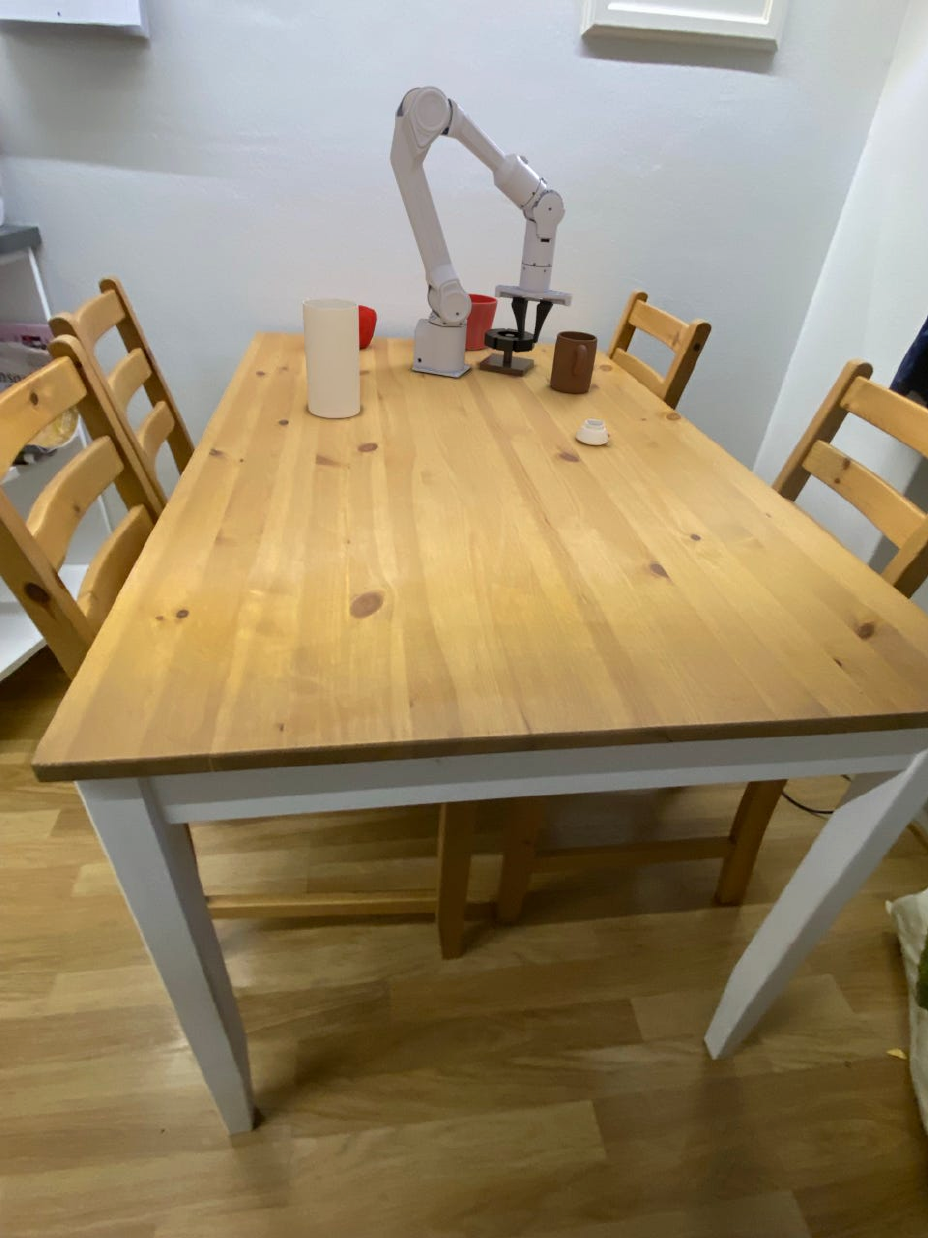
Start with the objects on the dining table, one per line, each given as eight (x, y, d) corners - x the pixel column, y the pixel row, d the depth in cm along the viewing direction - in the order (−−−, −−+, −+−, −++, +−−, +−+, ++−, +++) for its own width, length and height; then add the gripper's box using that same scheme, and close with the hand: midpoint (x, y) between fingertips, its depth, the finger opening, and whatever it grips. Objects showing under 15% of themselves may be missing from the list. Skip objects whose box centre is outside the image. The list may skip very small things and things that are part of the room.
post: (478, 369, 138) (481, 336, 134) (491, 358, 145) (494, 327, 141) (522, 376, 136) (526, 343, 132) (533, 365, 143) (537, 333, 139)
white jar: (583, 447, 107) (613, 446, 108) (586, 428, 105) (616, 427, 106) (570, 435, 111) (599, 434, 112) (573, 417, 109) (602, 416, 110)
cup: (368, 406, 115) (367, 302, 106) (345, 421, 109) (342, 311, 99) (324, 398, 117) (319, 294, 108) (298, 412, 110) (291, 303, 101)
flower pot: (447, 337, 157) (450, 290, 152) (495, 342, 156) (500, 295, 151) (440, 348, 149) (442, 299, 143) (490, 354, 148) (495, 305, 142)
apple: (326, 348, 142) (324, 307, 138) (344, 339, 149) (343, 299, 145) (366, 354, 141) (366, 313, 136) (383, 345, 148) (383, 305, 143)
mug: (596, 403, 125) (606, 348, 120) (554, 400, 125) (562, 345, 120) (586, 383, 135) (594, 332, 130) (547, 380, 135) (554, 329, 129)
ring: (480, 347, 135) (481, 335, 134) (491, 337, 142) (492, 325, 141) (528, 354, 133) (530, 342, 132) (537, 343, 141) (538, 332, 140)
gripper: (493, 262, 127) (487, 340, 134) (572, 271, 124) (561, 350, 132) (502, 257, 132) (495, 332, 140) (577, 266, 130) (566, 342, 138)
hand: (527, 340), depth 136 cm, fingers closed on ring, 2 cm apart
